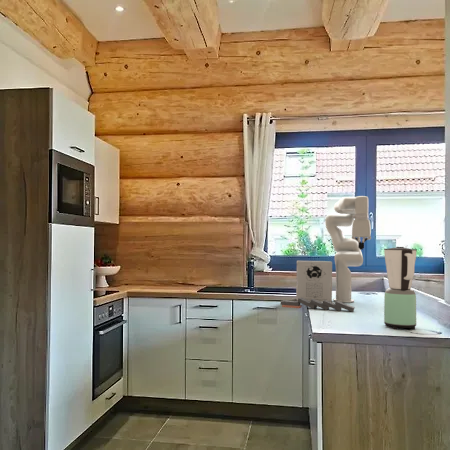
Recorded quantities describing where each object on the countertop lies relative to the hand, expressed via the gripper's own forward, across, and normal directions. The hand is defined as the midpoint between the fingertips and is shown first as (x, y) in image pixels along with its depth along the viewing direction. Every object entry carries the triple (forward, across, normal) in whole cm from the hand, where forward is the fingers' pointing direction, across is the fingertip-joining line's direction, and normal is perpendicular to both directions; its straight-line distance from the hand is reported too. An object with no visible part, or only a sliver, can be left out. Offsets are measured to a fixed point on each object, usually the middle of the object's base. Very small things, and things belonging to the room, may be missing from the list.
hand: (361, 249), depth 261 cm
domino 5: (+32, -9, -17) cm, 38 cm away
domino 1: (+31, -32, -16) cm, 48 cm away
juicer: (+33, +20, -59) cm, 71 cm away
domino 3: (+32, -23, -17) cm, 43 cm away
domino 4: (+32, -16, -17) cm, 40 cm away
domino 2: (+33, -31, -17) cm, 48 cm away
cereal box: (+33, -30, +21) cm, 50 cm away
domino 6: (+32, -3, -17) cm, 37 cm away
